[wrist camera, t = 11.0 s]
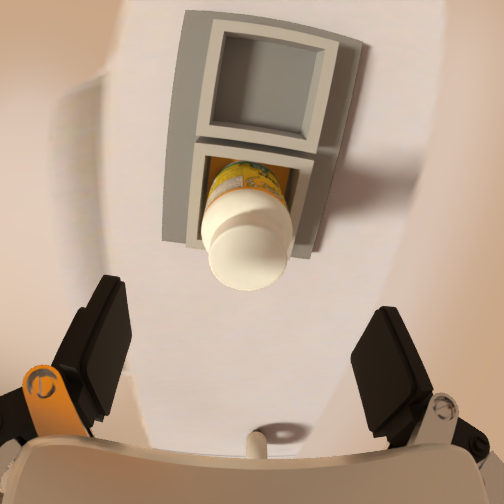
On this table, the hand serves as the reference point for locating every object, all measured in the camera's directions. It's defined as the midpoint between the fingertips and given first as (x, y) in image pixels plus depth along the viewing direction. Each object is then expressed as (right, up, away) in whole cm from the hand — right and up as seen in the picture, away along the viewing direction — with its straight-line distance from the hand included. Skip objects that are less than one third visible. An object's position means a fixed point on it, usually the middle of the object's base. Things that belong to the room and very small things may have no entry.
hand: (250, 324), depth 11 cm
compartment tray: (0, +11, +12) cm, 16 cm away
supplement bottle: (0, +7, +13) cm, 15 cm away
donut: (+1, -29, +37) cm, 47 cm away
